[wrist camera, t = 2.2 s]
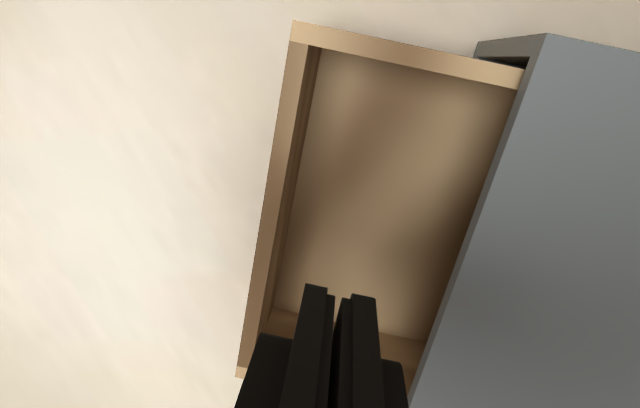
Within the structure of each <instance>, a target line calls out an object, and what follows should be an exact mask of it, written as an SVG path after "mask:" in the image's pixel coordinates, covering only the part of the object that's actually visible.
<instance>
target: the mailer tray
mask: <svg viewBox="0 0 640 408" xmlns="http://www.w3.org/2000/svg"><path fill="white" fill-rule="evenodd" d="M525 70H526V69H521V68H516V67H511V66H507V65H502V64H497V63H493V62H488V61H483V60H479V59H474V58H469V57H465V56H460V55H455V54H451V53H446V52H441V51H437V50H432V49H427V48H423V47H418V46H413V45H409V44H404V43H399V42H395V41H390V40H385V39H380V38H376V37H371V36H366V35H362V34H357V33H352V32H348V31H343V30H338V29H334V28H329V27H324V26H320V25H315V24H310V23H306V22H301V21H296V20H293V22H292V28H291V34H290V40H289V46H288V53H287V59H286V65H285V71H284V77H283V84H282V90H281V96H280V102H279V108H278V115H277V121H276V127H275V133H274V139H273V145H272V152H271V158H270V164H269V170H268V176H267V183H266V189H265V195H264V201H263V207H262V213H261V220H260V226H259V232H258V238H257V244H256V251H255V257H254V263H253V269H252V275H251V281H250V288H249V294H248V300H247V306H246V312H245V319H244V325H243V331H242V337H241V343H240V350H239V356H238V362H237V368H236V374H235V377H237V378H242V379H244V378H245V375H246V372H247V369H248V366H249V363H250V360H251V357H252V354H253V351H254V348H255V345H256V342H257V339H258V336H259V334H260V332H262V333H267V334H272V335H276V336H281V337H285V338H290V339H293V338H294V333H295V328H296V324H297V319H298V315H299V310H300V305H301V301H302V296H303V292H304V287H305V283H308V284H313V285H317V286H322V287H327V288H328V291H327V294H330V295H334V296H335V310H334V323H333V329H334V326H335V322H336V318H337V314H338V310H339V306H340V302H341V299H342V297H343V298H348V299H350V297H351V294H352V293H354V294H359V295H364V296H368V297H373V298H375V299H376V308H377V319H378V330H379V341H380V352H381V358H382V359H387V360H391V361H396V362H400V363H401V365H402V368H403V374H404V380H405V386H406V393H407V396H408V393H409V390H410V388H411V385H412V382H413V379H414V377H415V374H416V371H417V368H418V365H419V363H420V360H421V357H422V354H423V352H424V349H425V346H426V343H427V341H428V338H429V335H430V332H431V330H432V327H433V324H434V321H435V318H436V316H437V313H438V310H439V307H440V305H441V302H442V299H443V296H444V294H445V291H446V288H447V285H448V283H449V280H450V277H451V274H452V272H453V269H454V266H455V263H456V260H457V258H458V255H459V252H460V249H461V247H462V244H463V241H464V238H465V236H466V233H467V230H468V227H469V225H470V222H471V219H472V216H473V213H474V211H475V208H476V205H477V202H478V200H479V197H480V194H481V191H482V189H483V186H484V183H485V180H486V178H487V175H488V172H489V169H490V166H491V164H492V161H493V158H494V155H495V153H496V150H497V147H498V144H499V142H500V139H501V136H502V133H503V131H504V128H505V125H506V122H507V119H508V117H509V114H510V111H511V108H512V106H513V103H514V100H515V97H516V95H517V92H518V89H519V86H520V84H521V81H522V78H523V75H524V72H525Z"/></svg>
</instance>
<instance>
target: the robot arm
mask: <svg viewBox="0 0 640 408" xmlns="http://www.w3.org/2000/svg"><path fill="white" fill-rule="evenodd" d="M327 291H328V288H327V287H322V286H317V285H313V284H308V283H305V287H304V292H303V296H302V301H301V305H300V310H299V315H298V319H297V324H296V328H295V333H294V338H293V339H290V338H285V337H281V336H276V335H272V334H267V333H262V332H260V334H259V336H258V339H257V342H256V345H255V348H254V351H253V354H252V357H251V360H250V363H249V366H248V369H247V372H246V375H245V378H244V380H243V383H242V386H241V389H240V392H239V395H238V398H237V401H236V404H235V407H234V408H409V406H408V399H407V393H406V386H405V380H404V374H403V368H402V365H401V363H400V362H396V361H391V360H387V359H382V358H381V352H380V341H379V330H378V319H377V308H376V299H375V298H373V297H368V296H364V295H359V294H354V293H352V294H351V297H350V299H348V298H343V297H342V299H341V302H340V306H339V310H338V314H337V318H336V322H335V326H334V329H333V323H334V310H335V296H334V295H330V294H327Z"/></svg>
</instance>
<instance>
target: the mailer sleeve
mask: <svg viewBox="0 0 640 408" xmlns="http://www.w3.org/2000/svg"><path fill="white" fill-rule="evenodd" d="M473 58H474V59H479V60H483V61H488V62H493V63H497V64H502V65H507V66H511V67H516V68H521V69H526V70H525V72H524V75H523V78H522V81H521V84H520V86H519V89H518V92H517V95H516V97H515V100H514V103H513V106H512V108H511V111H510V114H509V117H508V119H507V122H506V125H505V128H504V131H503V133H502V136H501V139H500V142H499V144H498V147H497V150H496V153H495V155H494V158H493V161H492V164H491V166H490V169H489V172H488V175H487V178H486V180H485V183H484V186H483V189H482V191H481V194H480V197H479V200H478V202H477V205H476V208H475V211H474V213H473V216H472V219H471V222H470V225H469V227H468V230H467V233H466V236H465V238H464V241H463V244H462V247H461V249H460V252H459V255H458V258H457V260H456V263H455V266H454V269H453V272H452V274H451V277H450V280H449V283H448V285H447V288H446V291H445V294H444V296H443V299H442V302H441V305H440V307H439V310H438V313H437V316H436V318H435V321H434V324H433V327H432V330H431V332H430V335H429V338H428V341H427V343H426V346H425V349H424V352H423V354H422V357H421V360H420V363H419V365H418V368H417V371H416V374H415V377H414V379H413V382H412V385H411V388H410V390H409V393H408V396H407V399H408V406H409V408H640V52H635V51H631V50H626V49H621V48H616V47H612V46H607V45H602V44H598V43H593V42H588V41H583V40H579V39H574V38H569V37H564V36H560V35H555V34H550V33H543V34H535V35H527V36H520V37H512V38H504V39H497V40H489V41H481V42H478V44H477V48H476V51H475V54H474V57H473Z"/></svg>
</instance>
